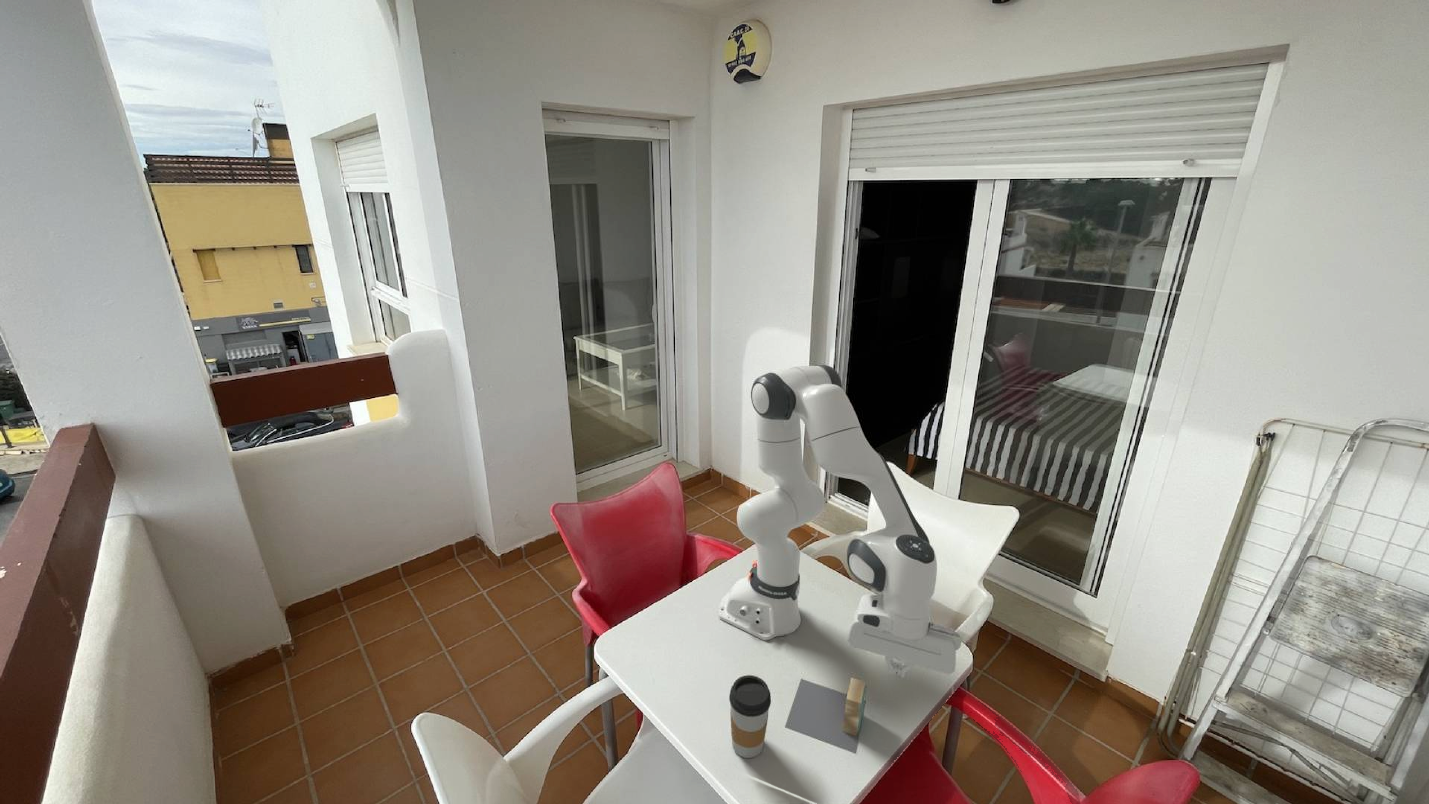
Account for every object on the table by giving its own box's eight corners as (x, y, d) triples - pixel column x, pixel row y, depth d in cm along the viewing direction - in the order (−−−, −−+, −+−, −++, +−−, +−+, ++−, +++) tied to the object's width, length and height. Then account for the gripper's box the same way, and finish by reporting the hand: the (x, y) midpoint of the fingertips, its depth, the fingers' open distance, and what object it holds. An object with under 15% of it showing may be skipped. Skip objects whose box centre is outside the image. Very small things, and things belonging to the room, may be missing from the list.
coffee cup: (725, 729, 116) (727, 674, 111) (763, 726, 117) (767, 672, 112) (729, 766, 108) (732, 709, 103) (770, 763, 109) (775, 706, 104)
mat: (784, 728, 116) (784, 726, 116) (800, 680, 128) (801, 678, 128) (855, 755, 111) (855, 753, 111) (865, 702, 123) (865, 700, 123)
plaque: (842, 731, 115) (846, 698, 112) (847, 709, 121) (851, 677, 118) (858, 736, 114) (862, 704, 111) (862, 714, 119) (866, 682, 117)
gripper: (963, 621, 104) (952, 678, 108) (854, 593, 111) (848, 647, 116) (963, 643, 98) (952, 702, 103) (849, 612, 106) (843, 668, 110)
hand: (896, 673), depth 109 cm, fingers closed
